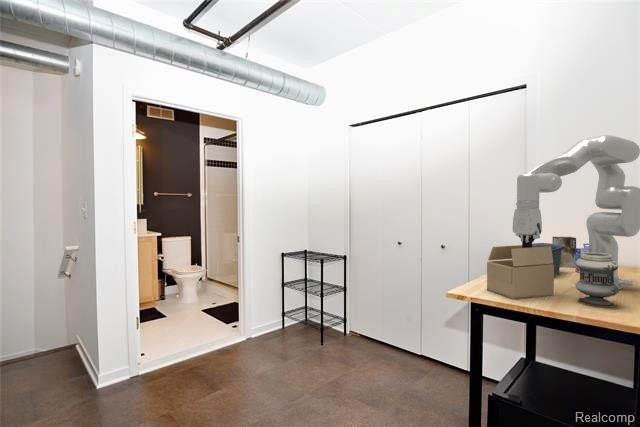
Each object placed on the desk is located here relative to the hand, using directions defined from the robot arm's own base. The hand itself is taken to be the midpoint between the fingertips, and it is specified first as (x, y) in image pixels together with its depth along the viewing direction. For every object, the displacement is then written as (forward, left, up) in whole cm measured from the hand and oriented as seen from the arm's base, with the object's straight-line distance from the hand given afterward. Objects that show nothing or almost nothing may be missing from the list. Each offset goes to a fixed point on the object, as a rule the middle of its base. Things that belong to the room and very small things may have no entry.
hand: (527, 252), depth 133 cm
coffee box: (0, -74, -17) cm, 76 cm away
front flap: (-2, +1, -1) cm, 3 cm away
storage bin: (+5, -46, -17) cm, 49 cm away
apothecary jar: (-21, -5, -17) cm, 28 cm away
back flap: (+7, -5, -2) cm, 9 cm away
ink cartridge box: (-12, -63, -17) cm, 66 cm away
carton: (+3, -2, -17) cm, 17 cm away
